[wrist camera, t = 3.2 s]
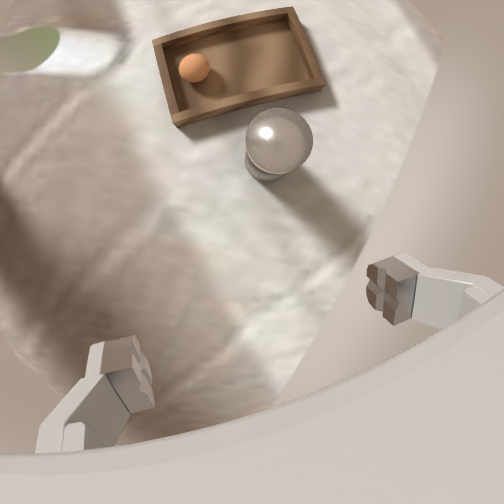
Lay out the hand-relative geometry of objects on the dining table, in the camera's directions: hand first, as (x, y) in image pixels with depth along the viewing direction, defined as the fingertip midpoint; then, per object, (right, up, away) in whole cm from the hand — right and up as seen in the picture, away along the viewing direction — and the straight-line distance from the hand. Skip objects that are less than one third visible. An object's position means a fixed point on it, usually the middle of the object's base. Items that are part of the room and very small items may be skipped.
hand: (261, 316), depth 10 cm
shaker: (+1, +13, +26) cm, 29 cm away
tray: (-2, +25, +24) cm, 35 cm away
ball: (-7, +23, +24) cm, 34 cm away
